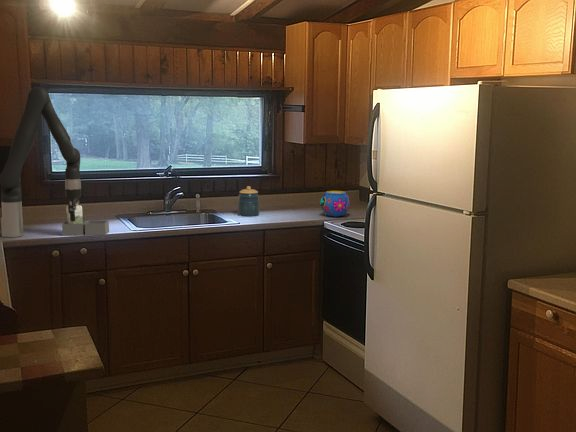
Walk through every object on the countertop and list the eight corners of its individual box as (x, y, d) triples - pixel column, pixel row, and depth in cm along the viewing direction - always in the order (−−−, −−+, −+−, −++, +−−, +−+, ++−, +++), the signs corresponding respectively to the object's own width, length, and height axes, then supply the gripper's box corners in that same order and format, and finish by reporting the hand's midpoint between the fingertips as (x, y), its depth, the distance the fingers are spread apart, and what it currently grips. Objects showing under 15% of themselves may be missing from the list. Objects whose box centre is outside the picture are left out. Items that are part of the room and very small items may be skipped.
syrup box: (76, 232, 334) (75, 204, 332) (83, 233, 330) (82, 205, 328) (66, 233, 330) (65, 205, 328) (73, 235, 326) (72, 206, 324)
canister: (233, 215, 395) (233, 186, 392) (248, 212, 405) (248, 184, 402) (248, 217, 387) (248, 187, 384) (263, 214, 396) (263, 186, 394)
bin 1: (62, 235, 325) (62, 223, 324) (67, 232, 335) (66, 220, 334) (83, 235, 326) (82, 223, 325) (87, 231, 336) (86, 220, 335)
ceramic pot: (322, 213, 404) (322, 189, 401) (350, 214, 401) (351, 190, 398) (318, 218, 386) (319, 193, 384) (348, 219, 384) (349, 193, 381)
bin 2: (85, 235, 326) (84, 223, 325) (89, 231, 336) (88, 220, 335) (105, 235, 327) (105, 223, 326) (109, 231, 337) (108, 220, 336)
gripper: (68, 186, 333) (70, 217, 336) (62, 189, 319) (63, 222, 322) (84, 186, 334) (85, 217, 336) (77, 189, 320) (79, 222, 322)
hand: (74, 219), depth 329 cm, fingers closed on syrup box, 8 cm apart
